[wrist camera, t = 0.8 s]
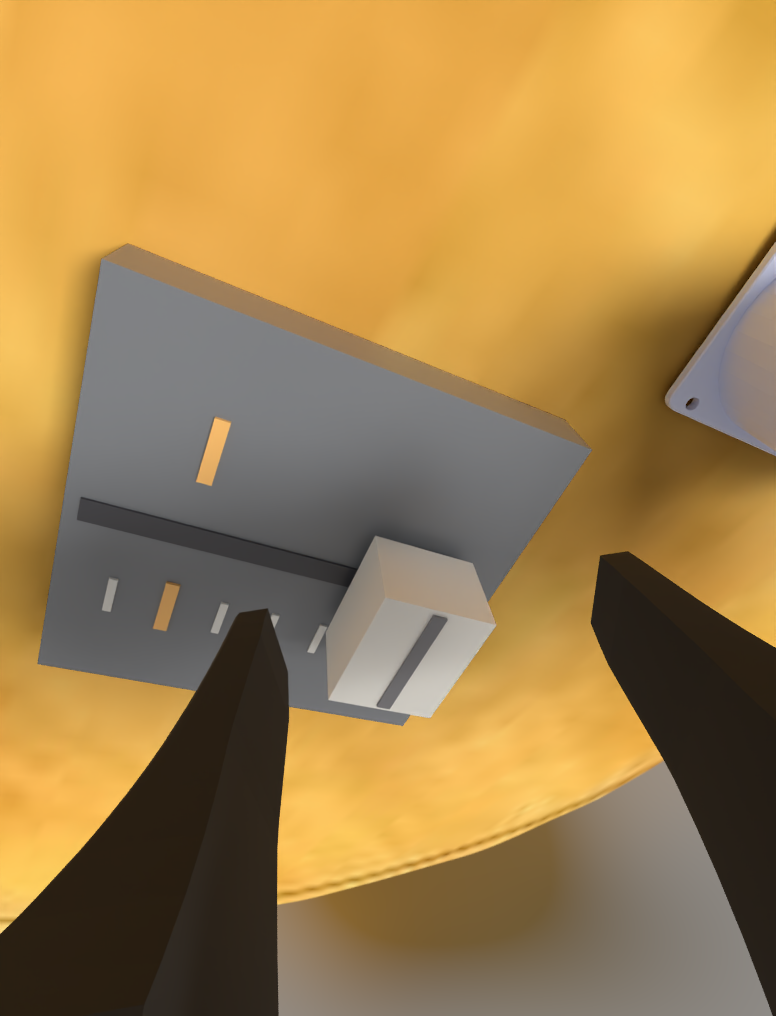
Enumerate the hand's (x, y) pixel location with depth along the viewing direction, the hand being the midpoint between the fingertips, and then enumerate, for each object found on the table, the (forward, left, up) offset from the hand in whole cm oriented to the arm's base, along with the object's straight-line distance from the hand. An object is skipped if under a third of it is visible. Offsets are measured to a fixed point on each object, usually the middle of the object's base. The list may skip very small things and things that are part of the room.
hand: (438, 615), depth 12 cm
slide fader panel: (+1, +6, -10) cm, 12 cm away
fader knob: (-3, +6, -8) cm, 10 cm away
